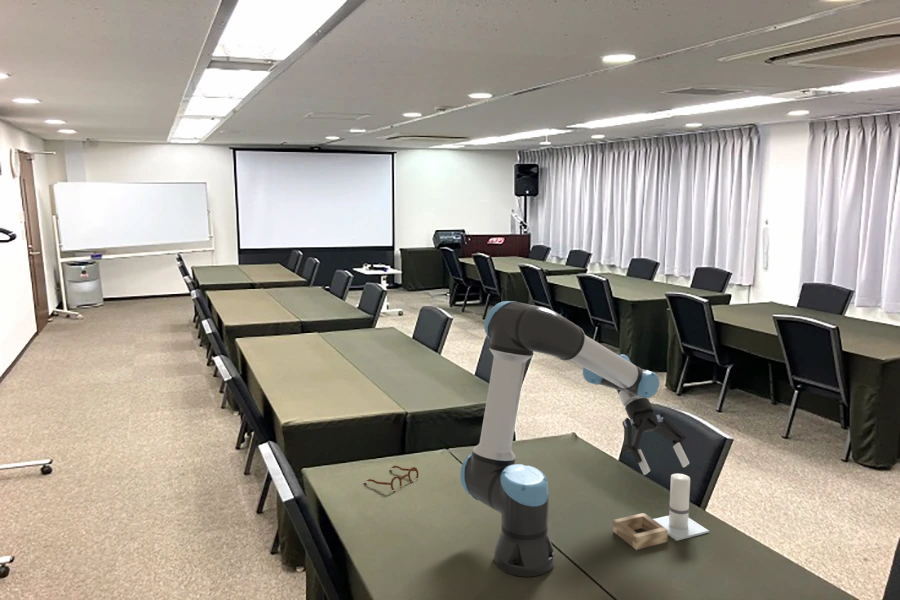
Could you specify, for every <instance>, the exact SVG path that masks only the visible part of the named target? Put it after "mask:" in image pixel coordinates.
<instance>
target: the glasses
mask: <svg viewBox="0 0 900 600" xmlns="http://www.w3.org/2000/svg"><path fill="white" fill-rule="evenodd" d="M391 468H394V469H395V468H396V469H399V470H400V471H405V472H407V473H405V474H404V475H402V476H401V477H400V476H398V475H397V476H396V475H395V476H394V477H392V479H391V481H390V482H385V481H377V480H375V479H373V478H369V479H367V480H366V481H369V482H372V483H375V484H377V485H386V486H387V485H388V486H390V489H391V491H392V490H395V488H394V485H393V484H394V481H395V480H396V479H398V482H399V486H401V487H402V485H403V483H402V480H403V479H405V478H406V477H408V480H409V482H410V481H412V478H411V472H415V473H416V477H415V479H416V478H418V479H419V470H418V468H417V467H416V466H412V467H411V468H404V467H403V468H402V467H401V466H398V465H393V466H392V467H391Z"/></svg>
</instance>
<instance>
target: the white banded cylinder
mask: <svg viewBox="0 0 900 600" xmlns="http://www.w3.org/2000/svg"><path fill="white" fill-rule="evenodd" d="M690 477H691V476H688V475H686V474H684V473H673V474H671V475H670V491H669V504H668V511H669V515H668V516H669V525H670V526H671V527H672V528H675V529H679V530H683V529H687V528H688V518H689V515H690V510H691V509H690V495H691V494H690V492H691V491H690V490H691V478H690Z"/></svg>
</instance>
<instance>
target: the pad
mask: <svg viewBox="0 0 900 600" xmlns="http://www.w3.org/2000/svg"><path fill="white" fill-rule="evenodd" d="M652 519H653V520H655V521H656V522H658V523H659V524H660V525H662V526H663V527H665V528H666V529H668V537H670V538H671V539H673V540H674V541H677V542H678V541H681V540H684V539H690V538H694V537H696V536H697V537H698V536H701V535H704V534H708V533H709V532H710V530H708V529H707V528H705V527H704V526H702V525H701V524H699V523H698V522H696V521H694V520H693V519H692V518H690V517H688V528H687V529H683V530H679V529H675V528H672V527H671V526H670V525H669V515H664V516H661V517H657V518H652Z"/></svg>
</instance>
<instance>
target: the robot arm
mask: <svg viewBox="0 0 900 600" xmlns="http://www.w3.org/2000/svg"><path fill="white" fill-rule="evenodd" d="M484 333H486V337H487V338H488V340H489V341H490V342H489V349H488V350H489V351H490V352H491V354H492V356H493V359H492V366H491V372H490V377H489V383H488V390H487V395H486V402H485V408H484V415H483V421H482V427H481V432H480V437H479V443H478V444H477V445H476V446H474V447H473V448H472V452H471V453H470V454H468V456H466V459H465V460H463V462H462V464H461V467H460V473H459V479H460V483H461V486H462V488H463V490H464V491H465V492H466V493H467V494H469V496H471V497H472V498H473V499H475V500H476V501H478V502H480V503H483V504H484V505H486V506H487V507H489V508H491V509H493V510H494V511H496V512H498V513H499V514H500V515H501V518H500V519H501V521H500V523H501V524H500V525H501V531H500V534H499V537H498V540H497V543H496V545H495V548H494V562H495V564H496V566H497V567H498V568H499V569H500V570H502V571H503V572H505V573H507V574H509V575H512V576H517V577H526V578H528V577H529V578H530V577H538V576H540V575H544V574H546V573H548V572H549V571H550V570H552V569H553V568H554V565H555V551H554V550H555V549H554V547H553V544H552V541H551V538H550V535H549V532H548V531H549V530H548V527H549V525H548V524H549V496H550V495H549V494H550V493H549V485H548V480H547V479H548V478H547V477H546V475H545V473H543V472H542V470H540V469H538V468H537V467H534V466H532V465H528V464H527V465H524V464H523V463H522V464H521V463H520V464H519V463H515V462H516V458H517V456H516V455H515V453H514V452H513V449H512V446H513V440H514V435H515V428H516V422H517V416H518V410H519V404H520V399H521V398H520V397H521V391H522V386H523V380H524V373H525V369H526V363H527V361H528V360H530V359H531V358H532V357H533V356H534V352H535V353H540V354H545V355H548V356H552V357H555V358H557V359H559V360H562V361H565V362H567V361H571V362H573V363H575V364H577V365H579V366H580V367H582V376H583V378H584V380H585V381H586V382H587V383H589V384H593V385H595V386H597V385H599V386H604V387H608V388H610V389H613V390H616V392H617V394H618V396H619V398H620V401H621V402H622V406H623V407H624V409H625V412H626V414H627V416H628V417H626V418H625V419H624V420H622V427H623V451H624V452H625V453H628V454H629V455H632V457H633V459H634V462H635V463H636V464H638V465H639V467H640V470H641V472H642V474H643V475H644V476H646V475H647V474H648V473H649V472H651V468H650V466H649V464H648V462H647V460H646V458H645V455H644V453H643V451H642V449H641V448H640V449H639V446H640V442H641V439H642V433H643V434H644V433H649V432H650V433H651V432H654V433H656V434H659V435H660V436H662V438H664V439H666V440H667V441H669V442H670V443H671V444H673V446H672V448H673V450H674V452H675V454H676V457H677V458H678V460H679V462H680V465H681V467H682V468H686V467H687V466H689V464H690V461H689V459H688V456H687V455H686V453H687V451H686V449H685V447H684V444H683V441H685V440H686V437H687V436H685V435H684V434H683V433H682V432H681V431H680V430H679V428H677V427H676V426H675V425H674V424H673V423H672V422H671V421H670V420H669V419H668V418H667V416H666V415H665V413H664V412H661V413H659V414H657V415H656V414H655V413H654V408H653V405H652V404H651V401H650V400H649V399H650V398H653V397H654V396H655V395H657V392H658V390H659V388H660V378H659V376H658V374H657V373H656V372H654V371H650V370H649V369H643V368H641V367H640V366H637V365H636V364H634V363H632V361H631V360H630V358H629V357H628V355H626V354H617V353H615V352H614V351H612V350H611V349H609V348H608V347H606V346H604V345H602V344H601V343H599V342H597V341H596V340H594V339H592V338H591V337H589V336H587V335H586V334H585V332H584V330H583V328H581V327H580V326H579V325H577V324H575V323H574V322H572V321H570V320H569V319H567V317H564V316H563V315H561V314H559V313H558V312H556V311H554V310H552V309H550V308H548V307H545V306H539V305H533V304H529V303H523V302H519V301H516V300H515V301H513V300H512V301H509V300H505V301H501V302H498V303H496V304H495V305H494V306H493V307H492V308H491V309H489V311H488V313H487V314H486V317H485V319H484ZM632 426H634V427H635V428H634V429H635V430H634V434H633V433H632V432H633V431H632V430H633V429H632ZM632 434H633V435H632ZM632 437H633V438H632Z"/></svg>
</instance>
